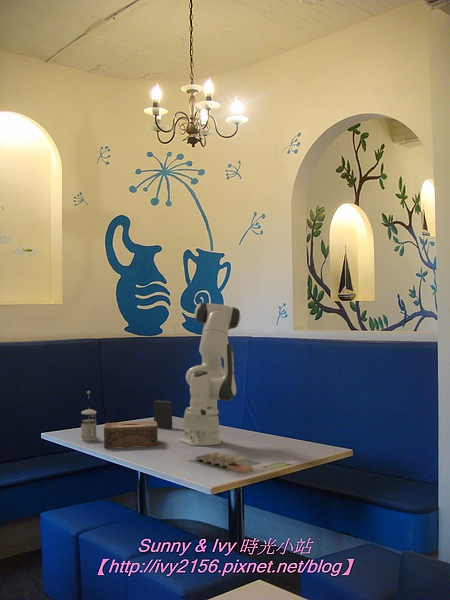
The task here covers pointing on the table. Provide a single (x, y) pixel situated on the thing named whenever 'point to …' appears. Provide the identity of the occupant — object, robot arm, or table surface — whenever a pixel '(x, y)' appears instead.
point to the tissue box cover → (130, 434)
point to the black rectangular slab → (163, 414)
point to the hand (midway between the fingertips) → (200, 441)
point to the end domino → (240, 468)
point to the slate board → (217, 466)
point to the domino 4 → (231, 461)
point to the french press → (88, 426)
